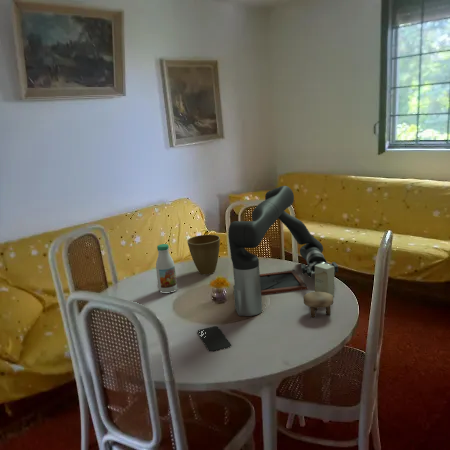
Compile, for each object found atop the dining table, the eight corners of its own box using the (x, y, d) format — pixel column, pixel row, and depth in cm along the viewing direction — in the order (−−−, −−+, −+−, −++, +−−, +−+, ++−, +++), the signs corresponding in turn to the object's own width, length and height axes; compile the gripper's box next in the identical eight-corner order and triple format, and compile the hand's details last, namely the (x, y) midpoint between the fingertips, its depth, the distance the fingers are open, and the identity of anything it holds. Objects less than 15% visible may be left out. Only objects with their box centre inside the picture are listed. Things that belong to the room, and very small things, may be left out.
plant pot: (194, 267, 214) (190, 235, 210) (224, 266, 211) (222, 233, 207) (187, 278, 199) (183, 244, 195) (220, 277, 197) (217, 242, 193)
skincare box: (314, 295, 169) (313, 265, 166) (322, 292, 172) (321, 262, 169) (327, 300, 164) (326, 269, 161) (335, 296, 167) (334, 265, 164)
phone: (209, 351, 135) (196, 330, 148) (209, 353, 135) (196, 332, 149) (232, 345, 137) (217, 325, 151) (232, 348, 137) (217, 327, 151)
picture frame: (245, 298, 174) (307, 290, 176) (244, 293, 173) (307, 285, 175) (238, 280, 193) (294, 273, 195) (237, 276, 193) (294, 269, 195)
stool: (310, 321, 148) (310, 305, 147) (299, 310, 158) (299, 294, 156) (338, 317, 150) (338, 300, 149) (326, 305, 160) (325, 289, 158)
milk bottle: (155, 293, 185) (149, 247, 180) (164, 286, 192) (159, 242, 187) (171, 295, 182) (166, 248, 177) (180, 287, 189) (175, 242, 184)
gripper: (298, 253, 188) (302, 266, 172) (333, 251, 187) (340, 264, 171) (299, 270, 189) (303, 284, 174) (333, 268, 188) (340, 282, 173)
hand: (321, 274), depth 172 cm, fingers open, 8 cm apart
